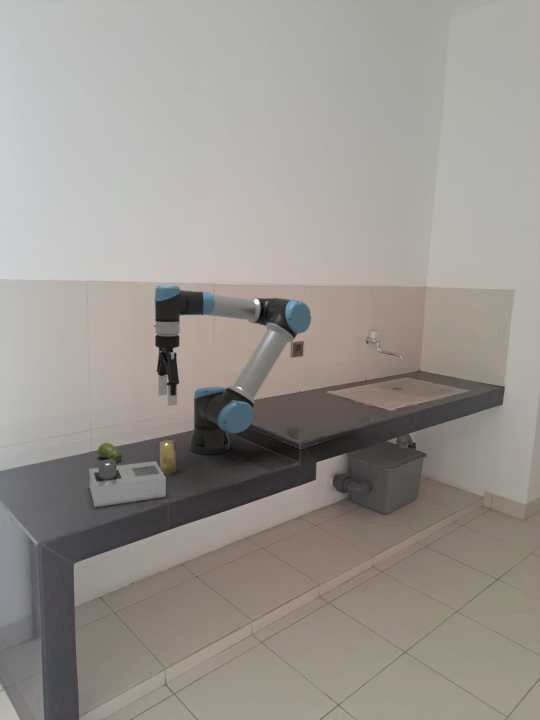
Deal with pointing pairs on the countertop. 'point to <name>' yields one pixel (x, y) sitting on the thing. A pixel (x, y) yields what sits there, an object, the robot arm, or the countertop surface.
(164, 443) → the yellow piece
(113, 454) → the pear
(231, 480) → the countertop surface
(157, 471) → the block
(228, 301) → the robot arm
